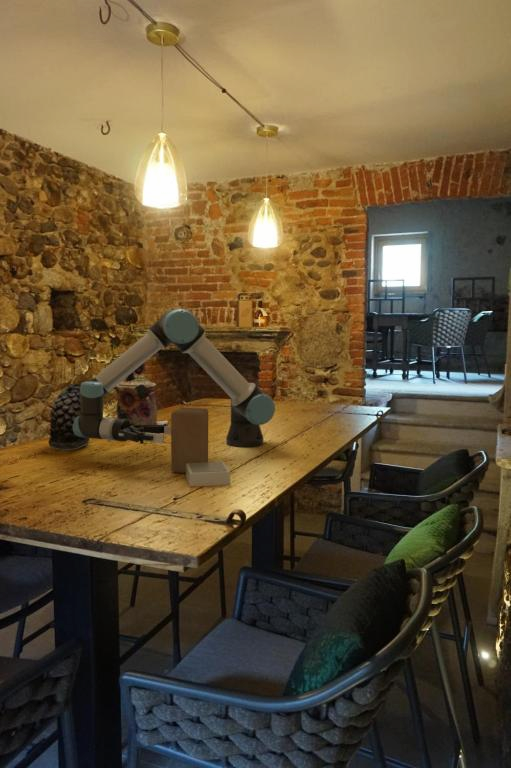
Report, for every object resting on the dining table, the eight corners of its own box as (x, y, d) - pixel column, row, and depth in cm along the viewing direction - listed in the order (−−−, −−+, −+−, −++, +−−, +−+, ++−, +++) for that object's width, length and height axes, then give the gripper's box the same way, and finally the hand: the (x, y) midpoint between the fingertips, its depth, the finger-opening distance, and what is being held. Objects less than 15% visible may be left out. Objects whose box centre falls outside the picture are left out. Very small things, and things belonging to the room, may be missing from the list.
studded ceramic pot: (66, 434, 224) (73, 374, 219) (100, 442, 221) (107, 381, 217) (36, 447, 204) (42, 381, 199) (73, 456, 201) (80, 390, 197)
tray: (223, 474, 176) (223, 461, 176) (230, 484, 165) (230, 471, 164) (185, 475, 174) (185, 463, 173) (189, 486, 162) (189, 473, 162)
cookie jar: (118, 424, 264) (117, 357, 260) (169, 425, 263) (168, 358, 260) (102, 434, 239) (100, 360, 236) (158, 435, 238) (158, 361, 235)
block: (200, 475, 175) (200, 412, 173) (170, 473, 177) (169, 411, 175) (209, 467, 185) (209, 408, 183) (180, 465, 187) (180, 407, 185)
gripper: (135, 434, 199) (188, 439, 193) (95, 447, 176) (154, 454, 169) (135, 413, 199) (189, 418, 192) (95, 424, 175) (155, 429, 169)
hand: (173, 435), depth 181 cm, fingers open, 13 cm apart
